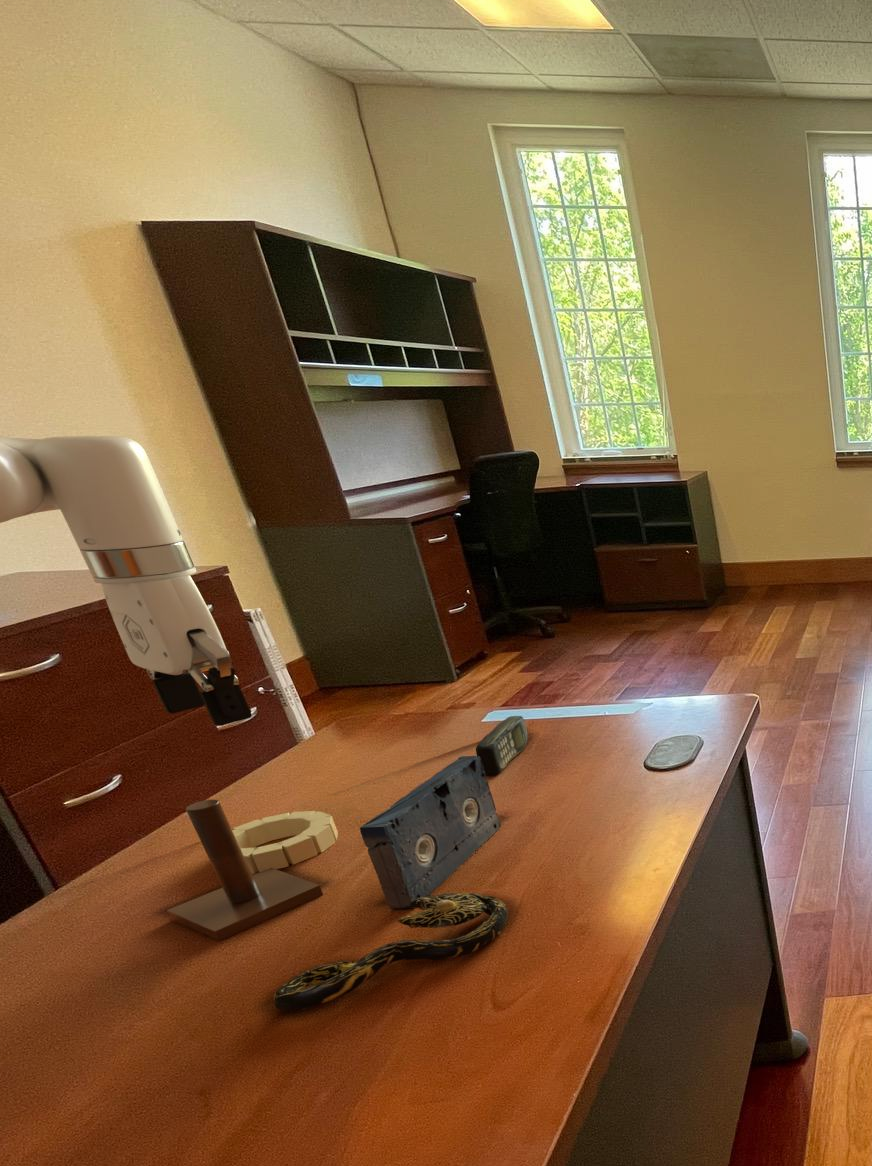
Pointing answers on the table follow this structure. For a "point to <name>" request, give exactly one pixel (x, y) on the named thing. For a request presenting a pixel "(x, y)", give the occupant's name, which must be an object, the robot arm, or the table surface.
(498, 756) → the mobile phone
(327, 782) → the table surface
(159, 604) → the robot arm
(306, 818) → the cream segmented ring
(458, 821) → the vhs cassette tape
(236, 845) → the post
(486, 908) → the rubber snake
